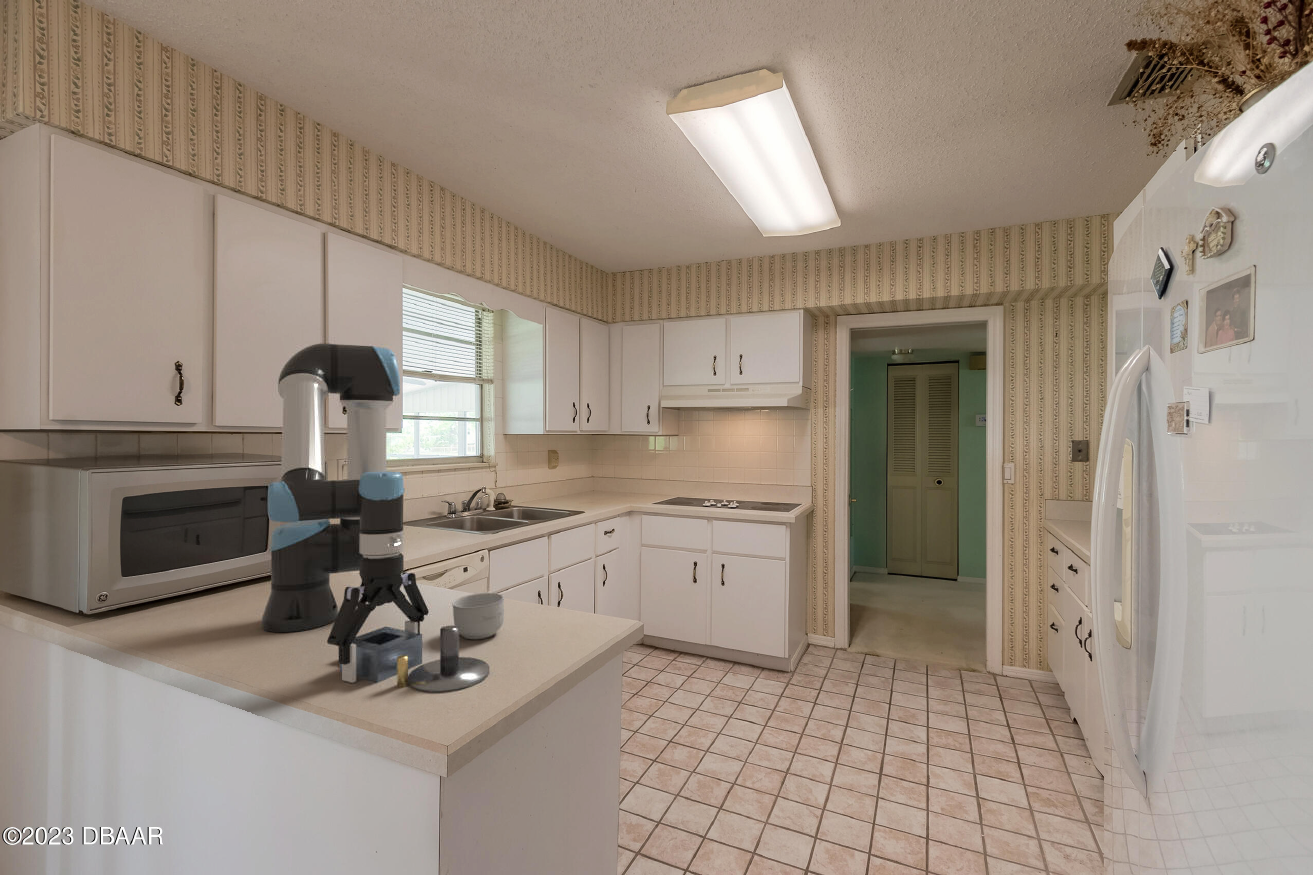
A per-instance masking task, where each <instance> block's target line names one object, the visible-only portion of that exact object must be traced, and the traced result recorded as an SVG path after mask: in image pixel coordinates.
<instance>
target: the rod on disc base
mask: <svg viewBox="0 0 1313 875" xmlns="http://www.w3.org/2000/svg"><path fill="white" fill-rule="evenodd" d="M439 630H440V631H439V632H440V633H439V635H440V636H439V639H440V640H439V648H440V649H439V651H440V654H439V657H440V658H439V659H436V660H433V661H429V662H426V663H422V665H419V666H417V667H415V668H414V669H413V670H411V671H410V672H409V673H408V686H410V687H411V688H412V689H414V690H417V691H420V692H425V693H447V692H454V691H458V690H464V689H467V688H470V687H472V686H475V685H478V684H479V683H481V682H483V681H484V680H485V679H486V678H487V677H488V676H489V675H490V666H489V664H488V663H487V662H486V661H485V660H482V659H480V658H479V659H478V658H475V657H469V656H468V657H464V656H462V657H461V656H460V653H459V652H460V651H459V650H460V634H459V627H458V626H455V625H446V626H442V627H441V628H440V629H439Z"/></svg>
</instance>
